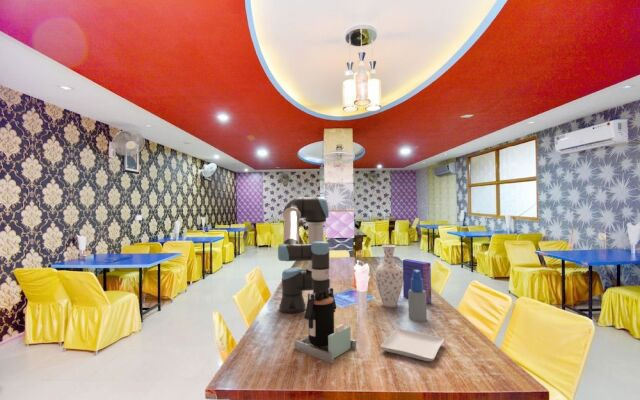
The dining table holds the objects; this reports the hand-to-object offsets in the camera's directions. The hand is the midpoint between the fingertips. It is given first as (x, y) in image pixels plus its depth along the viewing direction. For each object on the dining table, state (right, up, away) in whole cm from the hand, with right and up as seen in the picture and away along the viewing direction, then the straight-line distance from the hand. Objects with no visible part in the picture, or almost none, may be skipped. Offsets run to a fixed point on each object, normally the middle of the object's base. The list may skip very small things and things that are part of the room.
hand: (321, 331), depth 134 cm
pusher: (+7, -6, -6) cm, 12 cm away
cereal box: (+60, -7, +65) cm, 88 cm away
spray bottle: (+50, -7, +32) cm, 60 cm away
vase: (+41, -7, +55) cm, 69 cm away
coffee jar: (0, -5, 0) cm, 5 cm away
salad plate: (+38, -7, -2) cm, 39 cm away
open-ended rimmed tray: (+2, -7, -1) cm, 7 cm away
